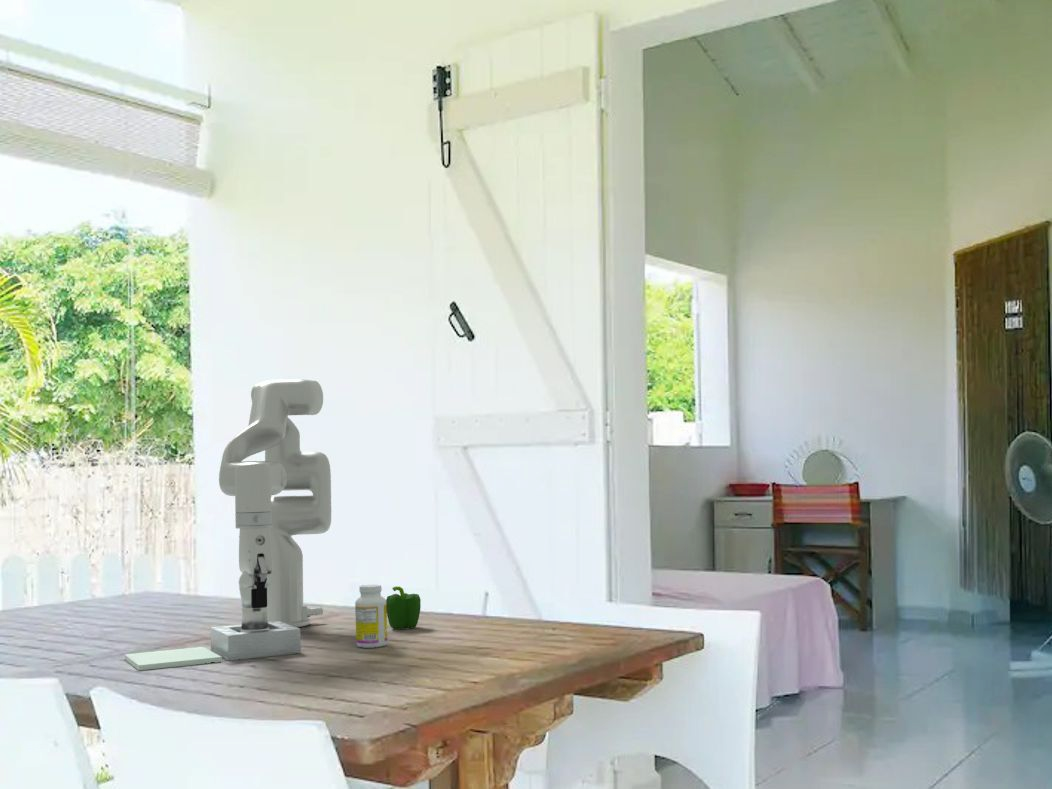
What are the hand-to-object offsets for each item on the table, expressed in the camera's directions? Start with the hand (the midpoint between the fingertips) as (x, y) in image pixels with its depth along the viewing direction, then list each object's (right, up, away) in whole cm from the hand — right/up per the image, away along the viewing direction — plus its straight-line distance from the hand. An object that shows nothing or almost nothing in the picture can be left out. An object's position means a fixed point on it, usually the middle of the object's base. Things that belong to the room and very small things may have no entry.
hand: (254, 605), depth 242 cm
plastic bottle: (0, -10, 0) cm, 10 cm away
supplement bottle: (+24, -10, +3) cm, 26 cm away
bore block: (0, -10, -1) cm, 10 cm away
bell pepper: (+28, -11, +29) cm, 42 cm away
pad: (-15, -10, -9) cm, 20 cm away
